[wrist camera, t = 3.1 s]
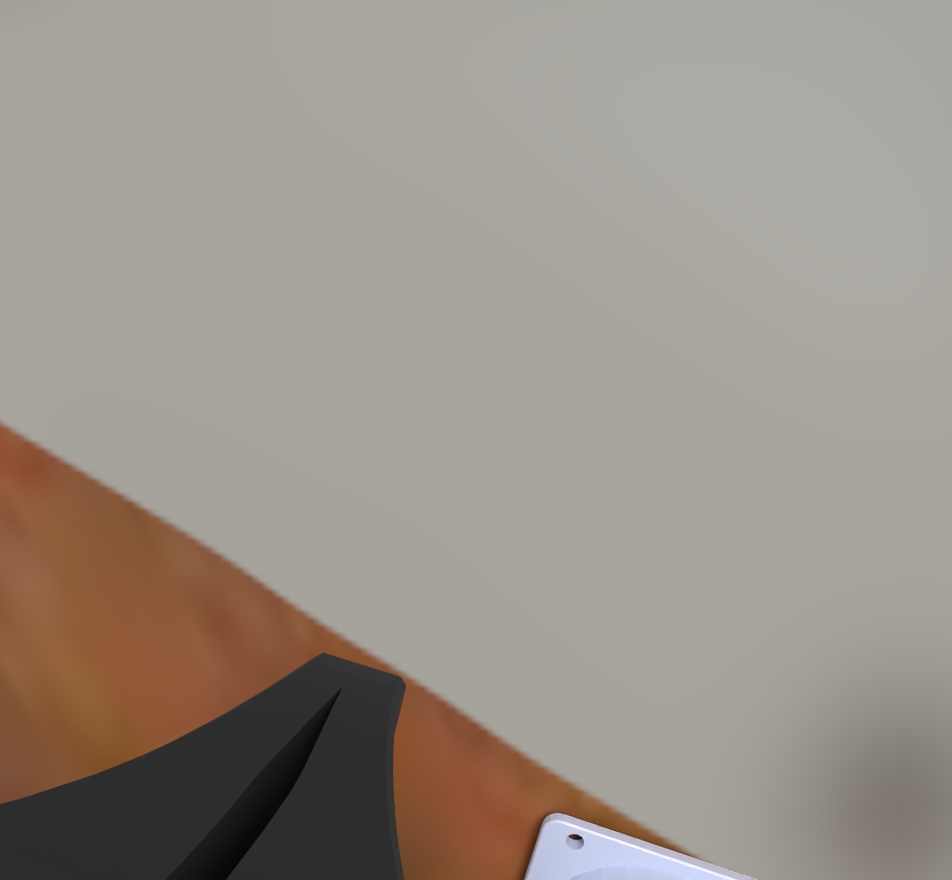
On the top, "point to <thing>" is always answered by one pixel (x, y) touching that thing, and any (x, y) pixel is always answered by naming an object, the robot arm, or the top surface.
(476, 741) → the top surface
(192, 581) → the top surface
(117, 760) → the top surface
